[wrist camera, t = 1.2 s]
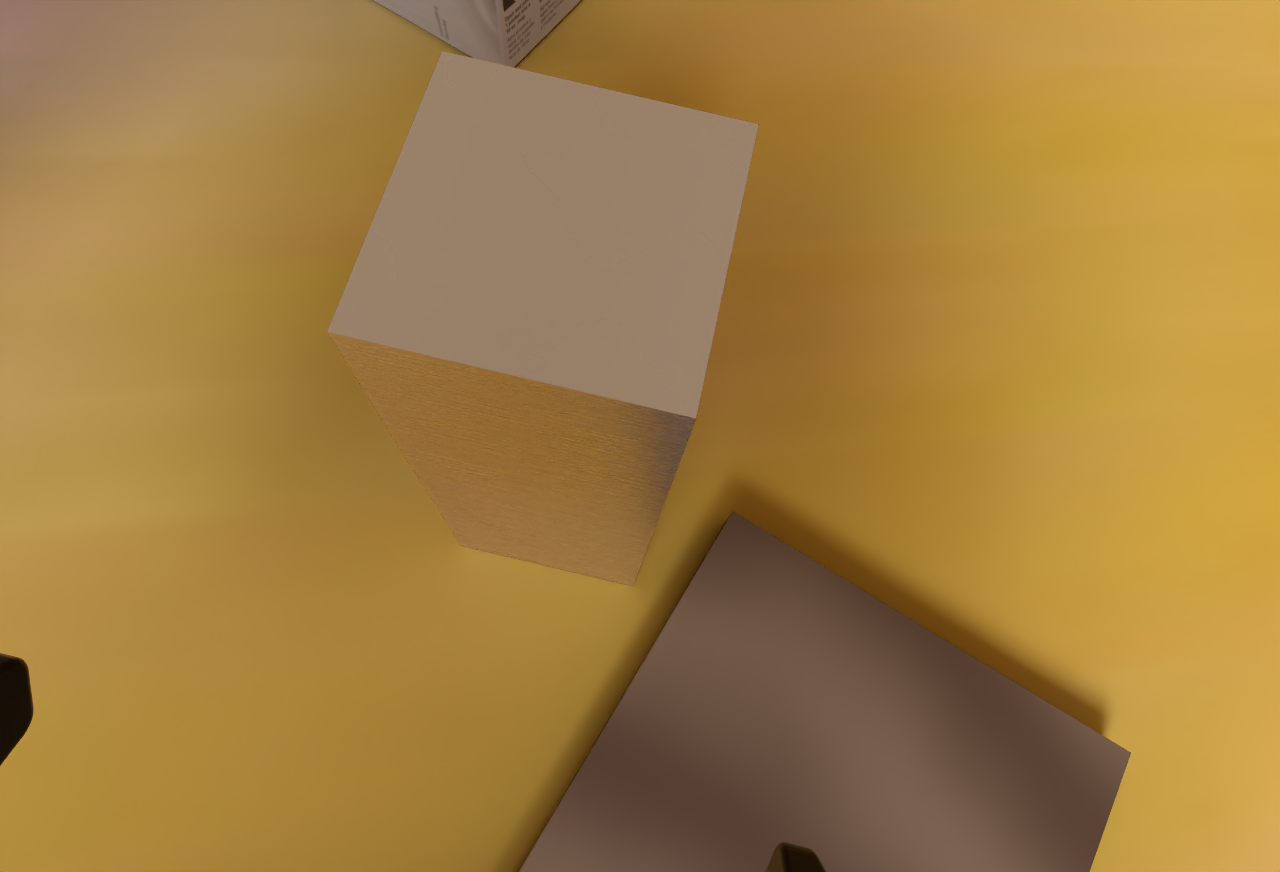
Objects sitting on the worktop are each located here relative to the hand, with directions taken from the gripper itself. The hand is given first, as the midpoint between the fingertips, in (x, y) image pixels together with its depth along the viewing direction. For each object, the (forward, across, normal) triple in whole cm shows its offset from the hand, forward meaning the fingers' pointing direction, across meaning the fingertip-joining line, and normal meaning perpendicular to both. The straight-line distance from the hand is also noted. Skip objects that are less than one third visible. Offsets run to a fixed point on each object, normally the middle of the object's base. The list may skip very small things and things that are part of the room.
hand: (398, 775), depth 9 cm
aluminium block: (+14, 0, +3) cm, 14 cm away
